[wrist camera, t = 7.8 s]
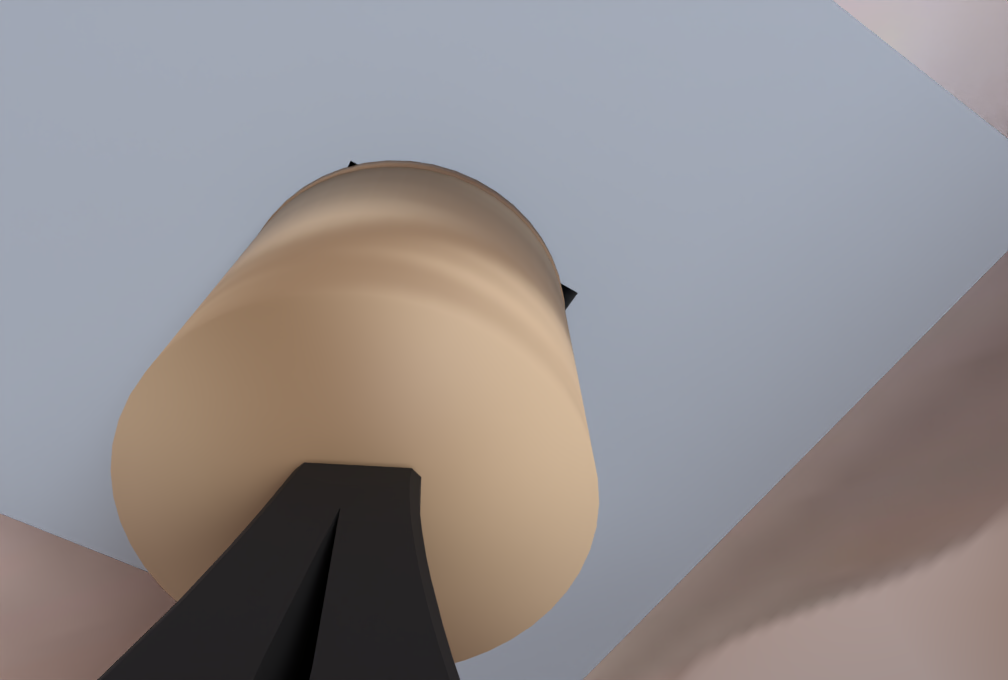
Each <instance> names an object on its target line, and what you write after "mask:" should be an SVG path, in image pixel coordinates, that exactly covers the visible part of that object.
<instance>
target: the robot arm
mask: <svg viewBox="0 0 1008 680" xmlns="http://www.w3.org/2000/svg"><path fill="white" fill-rule="evenodd" d="M420 505H421V476H420V475H419V474H418V473H417V472H416V471H414V470H413V469H412V468H402V467H382V466H363V465H344V464H325V463H306V462H304V463H303V464H301V465H300V466H299V467H297V468H296V469H295V470H294V471H293V472H292V473H291V475H290V476H289V477H288V478H287V480H286V481H285V482H284V483H283V484H282V486H281V487H280V488H279V489H278V490H277V492H276V493H275V494H274V495H273V496H272V498H271V499H270V500H269V501H268V502H267V504H266V505H265V506H264V507H263V508H262V510H261V511H260V512H259V513H258V514H257V515H256V516H255V518H254V519H253V520H252V521H251V522H250V523H249V525H248V526H247V527H246V528H245V529H244V530H243V531H242V532H241V534H240V535H239V536H238V537H237V538H236V539H235V540H234V542H233V543H232V544H231V545H230V546H229V547H228V548H227V549H226V550H225V551H224V553H223V554H222V555H221V556H220V557H219V558H218V559H217V560H216V561H215V562H214V563H213V564H212V565H211V566H210V567H209V569H208V570H207V571H206V572H205V573H204V574H203V575H202V576H201V577H200V578H199V579H198V580H197V581H196V582H195V584H194V585H193V586H192V587H191V588H190V589H189V590H188V591H187V592H186V593H185V594H184V595H183V596H182V597H181V598H180V599H179V601H178V602H177V603H176V604H175V605H174V606H173V607H172V608H171V609H170V610H169V611H168V612H167V613H166V614H165V615H164V616H163V617H162V618H161V619H160V620H159V621H158V622H157V623H155V624H154V625H153V626H152V627H151V628H150V629H149V630H148V631H147V632H146V633H145V634H144V635H143V636H142V637H141V638H140V639H139V640H138V641H137V642H136V643H135V644H134V645H133V646H132V647H131V648H130V649H129V650H128V651H127V652H126V653H125V654H124V655H123V656H121V657H120V658H119V659H118V660H117V661H116V662H115V663H114V664H113V665H112V666H111V667H110V668H109V669H108V670H107V671H106V672H105V673H104V674H103V675H102V676H101V677H100V678H99V679H98V680H460V678H459V675H458V672H457V669H456V666H455V663H454V660H453V657H452V653H451V650H450V647H449V643H448V640H447V637H446V633H445V630H444V627H443V623H442V619H441V615H440V611H439V607H438V603H437V600H436V596H435V592H434V588H433V584H432V580H431V576H430V571H429V567H428V562H427V557H426V551H425V545H424V539H423V533H422V526H421V517H420Z"/></svg>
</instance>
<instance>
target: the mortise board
mask: <svg viewBox="0 0 1008 680" xmlns="http://www.w3.org/2000/svg"><path fill="white" fill-rule="evenodd" d="M386 160H395V161H415V162H421V163H428V164H434V165H437V166H441V167H444V168H448V169H451V170H455V171H457V172H460V173H462V174H464V175H467V176H469V177H471V178H474V179H476V180H478V181H480V182H481V183H483V184H485V185H486V186H488V187H490V188H491V189H493V190H495V191H496V192H498V193H499V194H500V195H502V196H503V197H504V198H505V199H507V200H508V201H509V202H510V203H512V204H513V205H514V206H515V207H516V208H517V209H518V210H519V211H520V212H521V213H522V214H523V215H524V216H525V217H526V218H527V219H528V220H529V221H530V223H531V224H532V225H533V227H534V228H535V229H536V231H537V232H538V233H539V235H540V236H541V237H542V239H543V241H544V243H545V245H546V246H547V248H548V250H549V252H550V254H551V256H552V258H553V261H554V263H555V266H556V269H557V271H558V274H559V278H560V282H561V287H562V291H563V296H564V301H565V312H566V318H567V323H568V328H569V333H570V338H571V343H572V348H573V353H574V359H575V364H576V369H577V374H578V379H579V384H580V389H581V394H582V400H583V405H584V410H585V415H586V420H587V425H588V430H589V435H590V441H591V446H592V451H593V456H594V461H595V466H596V471H597V476H598V490H599V509H598V518H597V527H596V531H595V534H594V538H593V541H592V545H591V548H590V551H589V554H588V556H587V558H586V560H585V562H584V564H583V566H582V569H581V571H580V573H579V574H578V576H577V577H576V579H575V580H574V582H573V583H572V585H571V586H570V588H569V589H568V591H567V592H566V593H565V594H564V595H563V596H562V598H561V599H560V600H559V601H558V602H557V603H556V604H555V605H554V607H553V608H552V609H551V610H550V611H549V612H547V613H546V614H545V615H544V616H543V617H542V618H540V619H539V620H538V621H537V622H536V623H535V624H534V625H532V626H531V627H529V628H528V629H526V630H525V631H523V632H522V633H520V634H519V635H517V636H516V637H514V638H513V639H511V640H509V641H508V642H506V643H504V644H502V645H500V646H498V647H496V648H494V649H492V650H490V651H488V652H485V653H483V654H480V655H477V656H475V657H472V658H470V659H467V660H464V661H461V662H457V663H455V666H456V669H457V672H458V675H459V678H460V680H583V679H584V678H585V677H586V676H587V675H588V674H589V673H590V672H591V671H592V670H593V669H594V668H595V667H596V666H597V665H598V664H599V663H600V662H601V661H602V660H603V659H604V658H605V657H606V656H607V655H608V654H609V653H610V652H611V651H612V650H613V649H614V647H615V646H616V645H617V644H618V643H619V642H620V641H621V640H622V639H623V638H624V637H625V636H626V635H627V634H628V633H629V632H630V631H631V630H632V629H633V628H634V627H635V626H636V625H637V624H638V623H639V622H640V621H641V620H642V619H643V618H644V617H645V616H646V615H647V614H648V613H649V612H650V611H651V610H652V609H653V608H654V607H655V606H656V605H657V604H658V603H659V602H660V601H661V600H662V599H663V598H664V597H665V596H666V595H667V594H668V593H669V592H670V591H671V590H672V589H673V588H674V587H675V586H676V585H677V584H678V583H679V582H680V581H681V580H682V579H683V578H684V577H685V576H686V575H687V574H688V573H689V572H690V571H691V570H692V569H693V568H694V567H695V566H696V565H697V564H698V563H699V562H700V561H701V560H702V559H703V558H704V557H705V556H706V555H707V554H708V553H709V552H710V551H711V550H712V549H713V548H714V547H715V546H716V545H717V544H718V543H719V542H720V541H721V540H722V539H723V538H724V536H725V535H726V534H727V533H728V532H729V531H730V530H731V529H732V528H733V527H734V526H735V525H736V524H737V523H738V522H739V521H740V520H741V519H742V518H743V517H744V516H745V515H746V514H747V513H748V512H749V511H750V510H751V509H752V508H753V507H754V506H755V505H756V504H757V503H758V502H759V501H760V500H761V499H762V498H763V497H764V496H765V495H766V494H767V493H768V492H769V491H770V490H771V489H772V488H773V487H774V486H775V485H776V484H777V483H778V482H779V481H780V480H781V479H782V478H783V477H784V476H785V475H786V474H787V473H788V472H789V471H790V470H791V469H792V468H793V467H794V466H795V465H796V464H797V463H798V462H799V461H800V460H801V459H802V458H803V457H804V456H805V455H806V454H807V453H808V452H809V451H810V450H811V449H812V448H813V447H814V446H815V445H816V444H817V443H818V442H819V441H820V440H821V439H822V438H823V437H824V436H825V435H826V434H827V433H828V432H829V431H830V430H831V429H832V428H833V427H834V425H835V424H836V423H837V422H838V421H839V420H840V419H841V418H842V417H843V416H844V415H845V414H846V413H847V412H848V411H849V410H850V409H851V408H852V407H853V406H854V405H855V404H856V403H857V402H858V401H859V400H860V399H861V398H862V397H863V396H864V395H865V394H866V393H867V392H868V391H869V390H870V389H871V388H872V387H873V386H874V385H875V384H876V383H877V382H878V381H879V380H880V379H881V378H882V377H883V376H884V375H885V374H886V373H887V372H888V371H889V370H890V369H891V368H892V367H893V366H894V365H895V364H896V363H897V362H898V361H899V360H900V359H901V358H902V357H903V356H904V355H905V354H906V353H907V352H908V351H909V350H910V349H911V348H912V347H913V346H914V345H915V344H916V343H917V342H918V341H919V340H920V339H921V338H922V337H923V336H924V335H925V334H926V333H927V332H928V331H929V330H930V329H931V328H932V327H933V326H934V325H935V324H936V323H937V322H938V321H939V320H940V319H941V318H942V317H943V316H944V314H945V313H946V312H947V311H948V310H949V309H950V308H951V307H952V306H953V305H954V304H955V303H956V302H957V301H958V300H959V299H960V298H961V297H962V296H963V295H964V294H965V293H966V292H967V291H968V290H969V289H970V288H971V287H972V286H973V285H974V284H975V283H976V282H977V281H978V280H979V279H980V278H981V277H982V276H983V275H984V274H985V273H986V272H987V271H988V270H989V269H990V268H991V267H992V266H993V265H994V264H995V263H996V262H997V261H998V260H999V259H1000V258H1001V257H1002V256H1003V255H1004V254H1005V253H1006V252H1007V251H1008V138H1006V137H1005V136H1004V135H1002V134H1001V133H1000V132H999V131H997V130H996V129H995V128H994V127H992V126H991V125H990V124H988V123H987V122H986V121H985V120H983V119H982V118H981V117H980V116H978V115H977V114H976V113H975V112H973V111H972V110H971V109H969V108H968V107H967V106H966V105H964V104H963V103H962V102H961V101H959V100H958V99H957V98H956V97H954V96H953V95H952V94H950V93H949V92H948V91H947V90H945V89H944V88H943V87H942V86H940V85H939V84H938V83H937V82H935V81H934V80H933V79H931V78H930V77H929V76H928V75H926V74H925V73H924V72H923V71H921V70H920V69H919V68H918V67H916V66H915V65H914V64H912V63H911V62H910V61H909V60H907V59H906V58H905V57H904V56H902V55H901V54H900V53H898V52H897V51H896V50H895V49H893V48H892V47H891V46H890V45H888V44H887V43H886V42H885V41H883V40H882V39H881V38H879V37H878V36H877V35H876V34H874V33H873V32H872V31H871V30H869V29H868V28H867V27H866V26H864V25H863V24H862V23H860V22H859V21H858V20H857V19H855V18H854V17H853V16H852V15H850V14H849V13H848V12H847V11H845V10H844V9H843V8H841V7H840V6H839V5H838V4H836V3H835V2H834V1H833V0H0V514H3V515H5V516H8V517H11V518H13V519H16V520H18V521H21V522H23V523H26V524H28V525H31V526H33V527H36V528H38V529H41V530H43V531H46V532H48V533H51V534H53V535H56V536H58V537H61V538H64V539H66V540H69V541H71V542H74V543H76V544H79V545H81V546H84V547H86V548H89V549H91V550H94V551H96V552H99V553H101V554H104V555H106V556H109V557H111V558H114V559H116V560H119V561H122V562H124V563H127V564H129V565H132V566H134V567H137V568H139V569H142V570H144V571H147V572H148V570H147V569H146V568H145V567H144V565H143V564H142V562H141V560H140V559H139V557H138V556H137V554H136V552H135V551H134V549H133V548H132V546H131V544H130V542H129V540H128V538H127V536H126V533H125V531H124V529H123V527H122V524H121V522H120V519H119V516H118V512H117V508H116V505H115V501H114V497H113V490H112V480H111V456H112V444H113V440H114V436H115V432H116V428H117V424H118V420H119V418H120V415H121V413H122V411H123V409H124V407H125V404H126V402H127V400H128V398H129V395H130V394H131V392H132V391H133V389H134V388H135V386H136V385H137V384H138V382H139V381H140V379H141V378H142V376H143V375H144V373H145V372H146V371H147V369H148V368H149V367H150V366H151V365H152V363H153V362H154V361H155V360H156V358H157V357H158V356H159V355H160V354H161V352H162V351H163V350H164V349H165V347H166V346H167V345H168V344H169V343H170V341H171V340H172V339H173V338H174V336H175V335H176V334H177V333H178V332H179V330H180V329H181V328H182V327H183V325H184V324H185V323H186V322H187V321H188V319H189V318H190V317H191V316H192V315H193V313H194V312H195V311H196V310H197V308H198V307H199V306H200V305H201V304H202V302H203V301H204V300H205V299H206V297H207V296H208V295H209V294H210V293H211V291H212V290H213V289H214V288H215V286H216V285H217V284H218V283H219V282H220V280H221V279H222V278H223V277H224V275H225V274H226V273H227V272H228V271H229V269H230V268H231V267H232V266H233V265H234V263H235V262H236V261H237V260H238V258H239V257H240V256H241V255H242V254H243V252H244V251H245V250H246V249H247V247H248V246H249V245H250V244H251V243H252V241H253V240H254V239H255V238H256V236H257V235H258V234H259V232H260V231H261V230H262V228H263V227H264V225H265V224H266V222H267V221H268V220H269V219H270V217H271V216H272V215H273V214H274V213H275V212H276V211H277V210H278V209H279V208H280V207H281V205H282V204H283V203H284V202H285V201H286V200H287V199H289V198H290V197H291V196H292V195H294V194H295V193H296V192H298V191H299V190H300V189H301V188H303V187H304V186H306V185H308V184H310V183H311V182H313V181H315V180H317V179H318V178H320V177H322V176H324V175H327V174H329V173H332V172H334V171H337V170H339V169H342V168H345V167H349V166H354V165H358V164H362V163H367V162H377V161H386Z"/></svg>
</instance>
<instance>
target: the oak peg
mask: <svg viewBox="0 0 1008 680" xmlns="http://www.w3.org/2000/svg"><path fill="white" fill-rule="evenodd" d="M304 462H306V463H325V464H344V465H363V466H382V467H402V468H412V469H413V470H414V471H416V472H417V473H418V474H419V475H420V476H421V505H420V517H421V526H422V533H423V539H424V545H425V551H426V557H427V562H428V567H429V571H430V576H431V580H432V584H433V588H434V592H435V596H436V600H437V603H438V607H439V611H440V615H441V619H442V623H443V627H444V630H445V633H446V637H447V640H448V643H449V647H450V650H451V653H452V657H453V660H454V663H457V662H461V661H464V660H467V659H470V658H472V657H475V656H477V655H480V654H483V653H485V652H488V651H490V650H492V649H494V648H496V647H498V646H500V645H502V644H504V643H506V642H508V641H509V640H511V639H513V638H514V637H516V636H517V635H519V634H520V633H522V632H523V631H525V630H526V629H528V628H529V627H531V626H532V625H534V624H535V623H536V622H537V621H538V620H539V619H540V618H542V617H543V616H544V615H545V614H546V613H547V612H549V611H550V610H551V609H552V608H553V607H554V605H555V604H556V603H557V602H558V601H559V600H560V599H561V598H562V596H563V595H564V594H565V593H566V592H567V591H568V589H569V588H570V586H571V585H572V583H573V582H574V580H575V579H576V577H577V576H578V574H579V573H580V571H581V569H582V566H583V564H584V562H585V560H586V558H587V556H588V554H589V551H590V548H591V545H592V541H593V538H594V534H595V531H596V527H597V518H598V509H599V490H598V476H597V471H596V466H595V461H594V456H593V451H592V446H591V441H590V435H589V430H588V425H587V420H586V415H585V410H584V405H583V400H582V394H581V389H580V384H579V379H578V374H577V369H576V364H575V359H574V353H573V348H572V343H571V338H570V333H569V328H568V323H567V318H566V312H565V301H564V296H563V291H562V287H561V282H560V278H559V274H558V271H557V269H556V266H555V263H554V261H553V258H552V256H551V254H550V252H549V250H548V248H547V246H546V245H545V243H544V241H543V239H542V237H541V236H540V235H539V233H538V232H537V231H536V229H535V228H534V227H533V225H532V224H531V223H530V221H529V220H528V219H527V218H526V217H525V216H524V215H523V214H522V213H521V212H520V211H519V210H518V209H517V208H516V207H515V206H514V205H513V204H512V203H510V202H509V201H508V200H507V199H505V198H504V197H503V196H502V195H500V194H499V193H498V192H496V191H495V190H493V189H491V188H490V187H488V186H486V185H485V184H483V183H481V182H480V181H478V180H476V179H474V178H471V177H469V176H467V175H464V174H462V173H460V172H457V171H455V170H451V169H448V168H444V167H441V166H437V165H434V164H428V163H421V162H415V161H395V160H386V161H377V162H367V163H362V164H358V165H354V166H349V167H345V168H342V169H339V170H337V171H334V172H332V173H329V174H327V175H324V176H322V177H320V178H318V179H317V180H315V181H313V182H311V183H310V184H308V185H306V186H304V187H303V188H301V189H300V190H299V191H298V192H296V193H295V194H294V195H292V196H291V197H290V198H289V199H287V200H286V201H285V202H284V203H283V204H282V205H281V207H280V208H279V209H278V210H277V211H276V212H275V213H274V214H273V215H272V216H271V217H270V219H269V220H268V221H267V222H266V224H265V225H264V227H263V228H262V230H261V231H260V232H259V234H258V235H257V236H256V238H255V239H254V240H253V241H252V243H251V244H250V245H249V246H248V247H247V249H246V250H245V251H244V252H243V254H242V255H241V256H240V257H239V258H238V260H237V261H236V262H235V263H234V265H233V266H232V267H231V268H230V269H229V271H228V272H227V273H226V274H225V275H224V277H223V278H222V279H221V280H220V282H219V283H218V284H217V285H216V286H215V288H214V289H213V290H212V291H211V293H210V294H209V295H208V296H207V297H206V299H205V300H204V301H203V302H202V304H201V305H200V306H199V307H198V308H197V310H196V311H195V312H194V313H193V315H192V316H191V317H190V318H189V319H188V321H187V322H186V323H185V324H184V325H183V327H182V328H181V329H180V330H179V332H178V333H177V334H176V335H175V336H174V338H173V339H172V340H171V341H170V343H169V344H168V345H167V346H166V347H165V349H164V350H163V351H162V352H161V354H160V355H159V356H158V357H157V358H156V360H155V361H154V362H153V363H152V365H151V366H150V367H149V368H148V369H147V371H146V372H145V373H144V375H143V376H142V378H141V379H140V381H139V382H138V384H137V385H136V386H135V388H134V389H133V391H132V392H131V394H130V395H129V398H128V400H127V402H126V404H125V407H124V409H123V411H122V413H121V415H120V418H119V420H118V424H117V428H116V432H115V436H114V440H113V444H112V456H111V480H112V490H113V497H114V501H115V505H116V508H117V512H118V516H119V519H120V522H121V524H122V527H123V529H124V531H125V533H126V536H127V538H128V540H129V542H130V544H131V546H132V548H133V549H134V551H135V552H136V554H137V556H138V557H139V559H140V560H141V562H142V564H143V565H144V567H145V568H146V569H147V570H148V572H149V573H150V574H151V575H152V577H153V578H154V579H155V580H156V581H157V583H158V584H159V585H160V586H161V587H162V588H163V589H164V590H165V591H166V592H167V593H168V594H169V595H170V596H171V597H172V598H173V599H174V600H175V601H176V602H178V601H179V599H180V598H181V597H182V596H183V595H184V594H185V593H186V592H187V591H188V590H189V589H190V588H191V587H192V586H193V585H194V584H195V582H196V581H197V580H198V579H199V578H200V577H201V576H202V575H203V574H204V573H205V572H206V571H207V570H208V569H209V567H210V566H211V565H212V564H213V563H214V562H215V561H216V560H217V559H218V558H219V557H220V556H221V555H222V554H223V553H224V551H225V550H226V549H227V548H228V547H229V546H230V545H231V544H232V543H233V542H234V540H235V539H236V538H237V537H238V536H239V535H240V534H241V532H242V531H243V530H244V529H245V528H246V527H247V526H248V525H249V523H250V522H251V521H252V520H253V519H254V518H255V516H256V515H257V514H258V513H259V512H260V511H261V510H262V508H263V507H264V506H265V505H266V504H267V502H268V501H269V500H270V499H271V498H272V496H273V495H274V494H275V493H276V492H277V490H278V489H279V488H280V487H281V486H282V484H283V483H284V482H285V481H286V480H287V478H288V477H289V476H290V475H291V473H292V472H293V471H294V470H295V469H296V468H297V467H299V466H300V465H301V464H303V463H304Z"/></svg>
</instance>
